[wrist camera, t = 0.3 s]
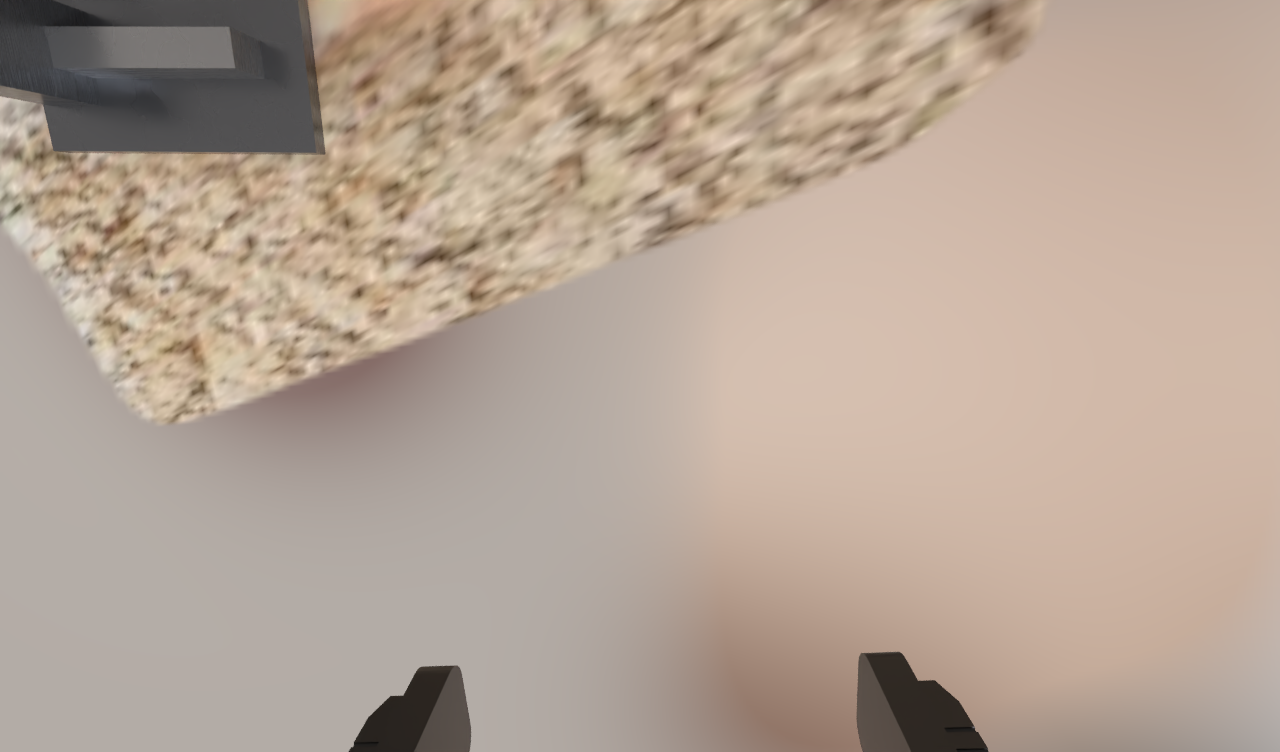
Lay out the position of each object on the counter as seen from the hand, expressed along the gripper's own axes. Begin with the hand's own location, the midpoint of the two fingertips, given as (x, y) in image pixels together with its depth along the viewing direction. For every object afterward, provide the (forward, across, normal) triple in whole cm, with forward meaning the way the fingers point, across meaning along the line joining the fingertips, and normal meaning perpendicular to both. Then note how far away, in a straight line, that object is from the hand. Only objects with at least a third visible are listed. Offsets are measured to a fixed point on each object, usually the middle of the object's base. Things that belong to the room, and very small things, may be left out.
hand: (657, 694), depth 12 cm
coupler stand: (+28, +27, -22) cm, 45 cm away
